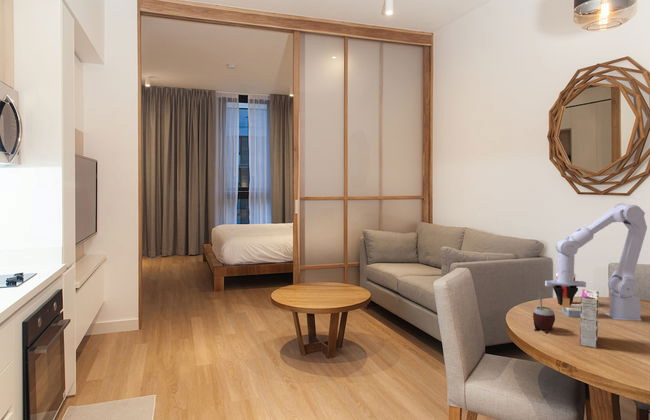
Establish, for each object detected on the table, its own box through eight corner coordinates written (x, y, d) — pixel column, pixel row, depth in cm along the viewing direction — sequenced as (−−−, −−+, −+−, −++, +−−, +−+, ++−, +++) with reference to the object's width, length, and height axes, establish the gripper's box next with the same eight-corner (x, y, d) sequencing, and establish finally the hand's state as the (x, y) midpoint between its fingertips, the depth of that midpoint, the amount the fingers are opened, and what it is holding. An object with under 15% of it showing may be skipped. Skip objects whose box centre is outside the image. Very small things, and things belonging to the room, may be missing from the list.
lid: (583, 307, 176) (583, 295, 175) (591, 312, 169) (592, 300, 168) (557, 306, 177) (557, 295, 176) (564, 311, 170) (565, 299, 169)
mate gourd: (549, 327, 160) (550, 287, 159) (559, 335, 152) (560, 292, 151) (528, 327, 160) (529, 286, 159) (537, 334, 152) (538, 292, 151)
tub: (582, 313, 175) (582, 306, 175) (590, 318, 169) (590, 311, 169) (561, 312, 176) (561, 305, 176) (568, 318, 170) (568, 310, 170)
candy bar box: (580, 335, 152) (582, 288, 151) (597, 337, 149) (599, 290, 148) (579, 345, 143) (580, 296, 141) (597, 348, 140) (599, 298, 139)
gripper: (580, 268, 175) (579, 302, 176) (542, 268, 177) (541, 301, 178) (589, 272, 168) (587, 307, 169) (549, 271, 170) (548, 306, 171)
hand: (564, 304), depth 173 cm, fingers open, 3 cm apart
